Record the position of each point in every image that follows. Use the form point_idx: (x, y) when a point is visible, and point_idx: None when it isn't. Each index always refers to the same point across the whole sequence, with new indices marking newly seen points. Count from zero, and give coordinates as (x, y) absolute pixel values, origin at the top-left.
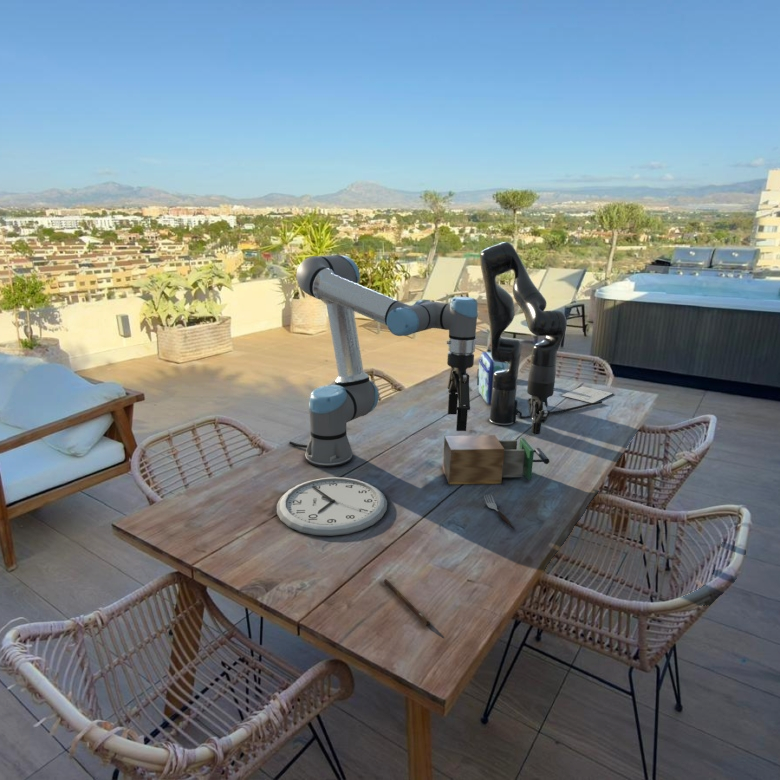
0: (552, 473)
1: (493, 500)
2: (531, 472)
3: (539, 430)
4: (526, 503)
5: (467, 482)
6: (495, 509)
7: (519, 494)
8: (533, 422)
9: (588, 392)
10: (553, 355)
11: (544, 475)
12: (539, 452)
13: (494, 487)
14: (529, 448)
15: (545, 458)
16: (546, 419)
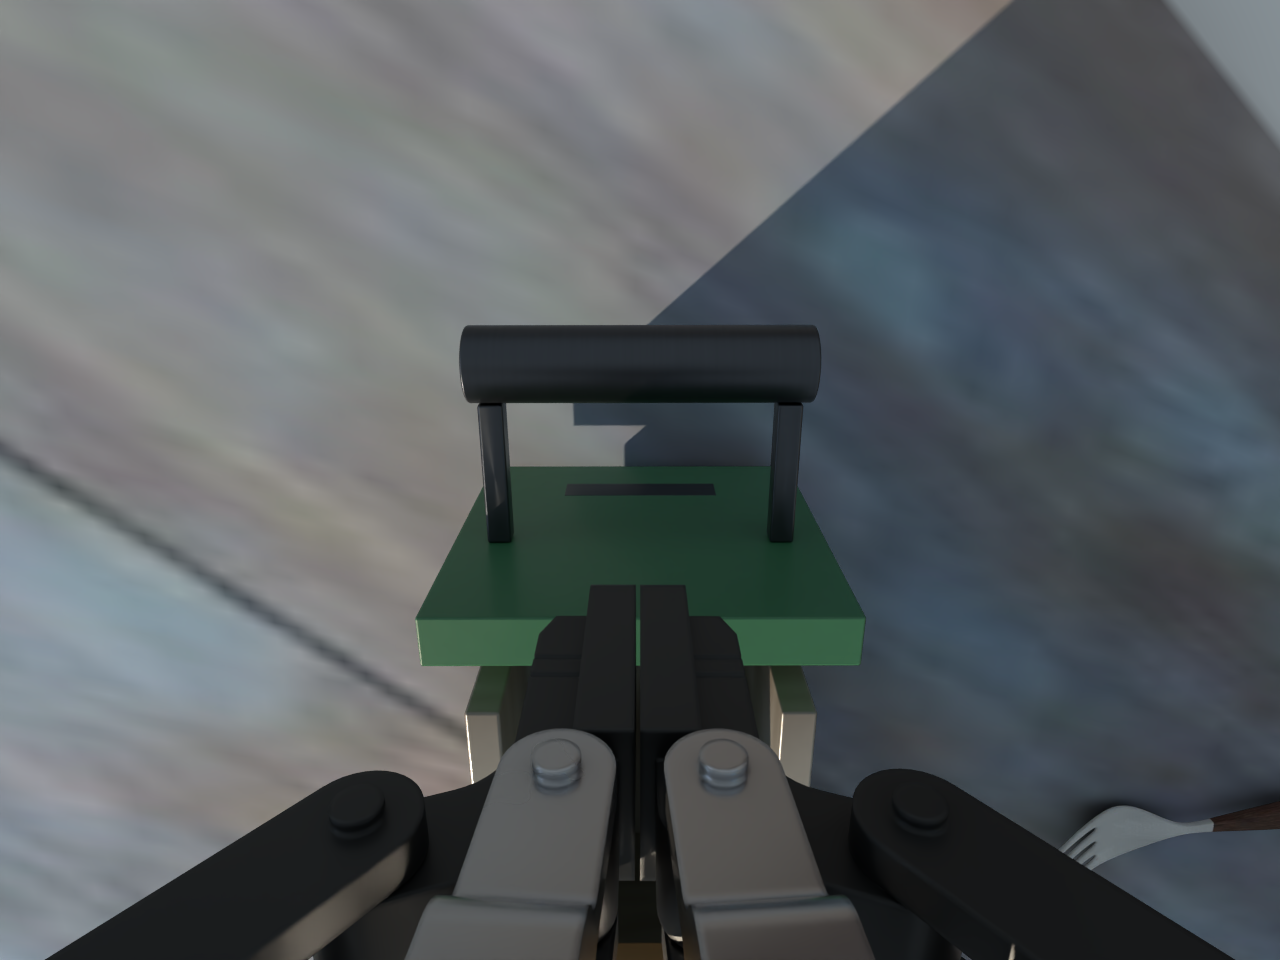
0: (619, 169)
1: (1087, 831)
2: (799, 492)
3: (739, 661)
4: (1126, 601)
5: None
6: (1182, 833)
7: (980, 610)
8: (652, 878)
9: None
10: None
11: (661, 276)
12: (602, 393)
13: (839, 749)
14: (786, 652)
15: (805, 386)
16: (1170, 927)
